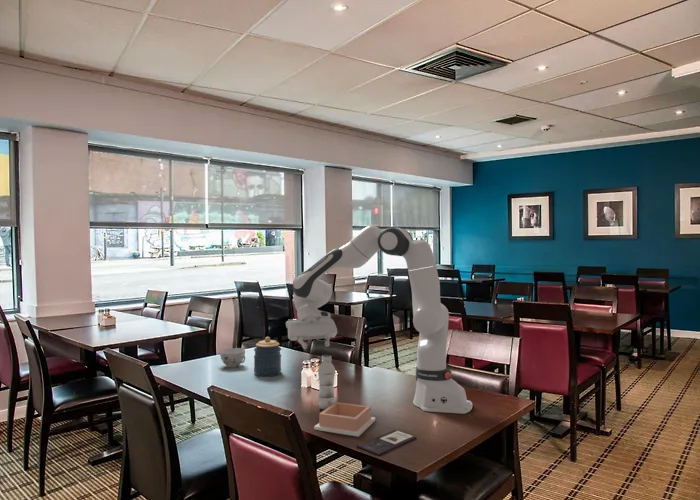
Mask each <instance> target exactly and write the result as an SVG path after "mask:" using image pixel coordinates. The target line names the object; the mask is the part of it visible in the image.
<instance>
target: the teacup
mask: <svg viewBox="0 0 700 500" xmlns="http://www.w3.org/2000/svg"><path fill="white" fill-rule="evenodd" d="M245 355H246V350H245V349H244V348H241V347H234V348H226V349H225V348H224V349H221V350H220V352H219V356H220V359H221V362H222V363H223V364H224V365H225V366H226V367H227V368H237V367H239V366H240V364H243V363H245V361H246V356H245Z"/></svg>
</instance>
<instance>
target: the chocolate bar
mask: <svg viewBox="0 0 700 500" xmlns="http://www.w3.org/2000/svg"><path fill="white" fill-rule="evenodd" d="M415 440H417V436H414V435H411V434H408V433H405V432H402V431H399V430H396V429H392V430H391V431H388V432H386V433H383V434H381V435H379V436H377V437H373V438H371V439H369V440H367V441H364V442H362V443H359V444H357V445H356V448H358V449H360V450H362V451H365V452H368V453H369V454H372V455H375V456H377V457H380V456H383V455H384V454H386V453H388V452H392V451H394V450H395V449H398V448H400V447H402V446H404V445H407V444H408V443H410V442H413V441H415Z"/></svg>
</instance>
